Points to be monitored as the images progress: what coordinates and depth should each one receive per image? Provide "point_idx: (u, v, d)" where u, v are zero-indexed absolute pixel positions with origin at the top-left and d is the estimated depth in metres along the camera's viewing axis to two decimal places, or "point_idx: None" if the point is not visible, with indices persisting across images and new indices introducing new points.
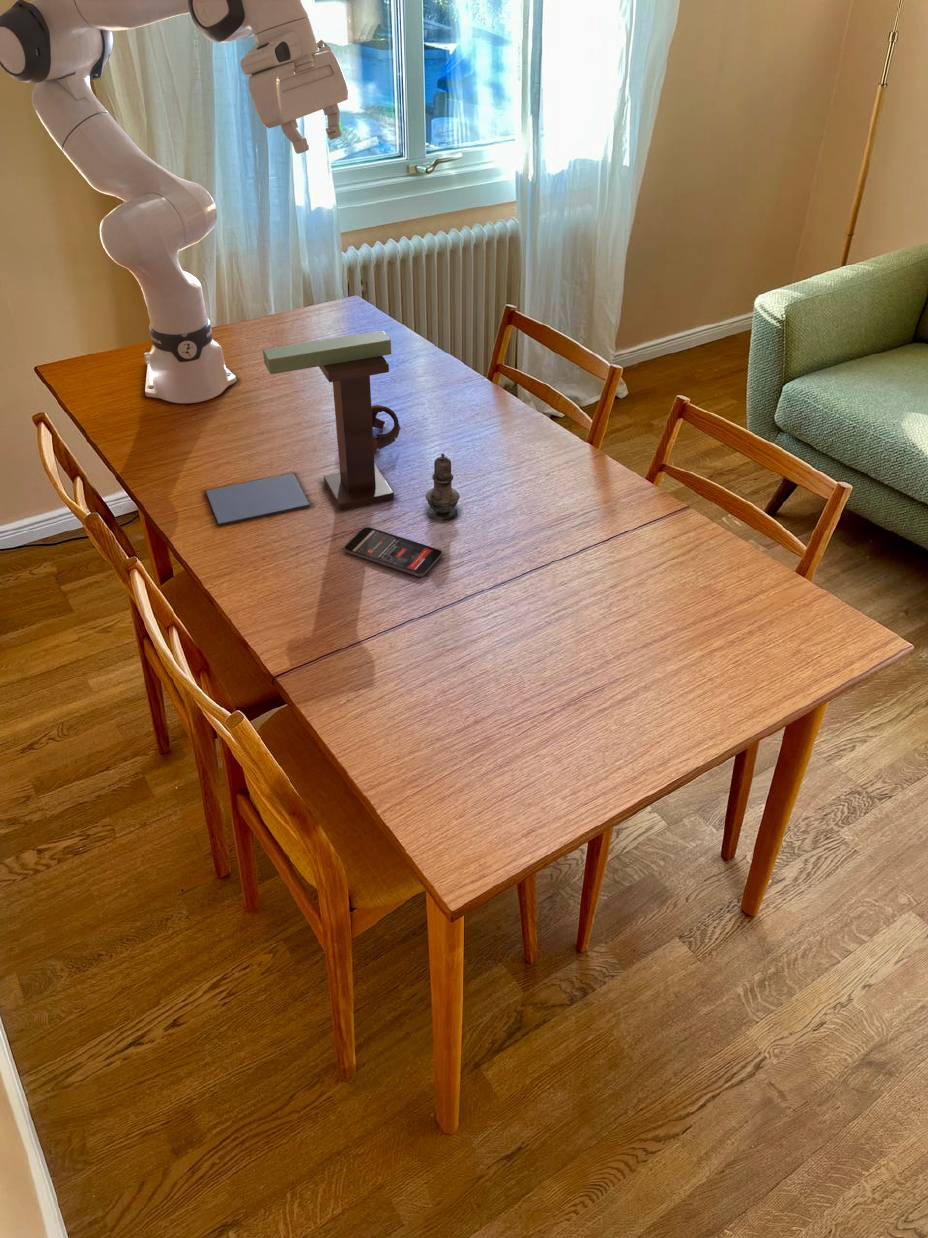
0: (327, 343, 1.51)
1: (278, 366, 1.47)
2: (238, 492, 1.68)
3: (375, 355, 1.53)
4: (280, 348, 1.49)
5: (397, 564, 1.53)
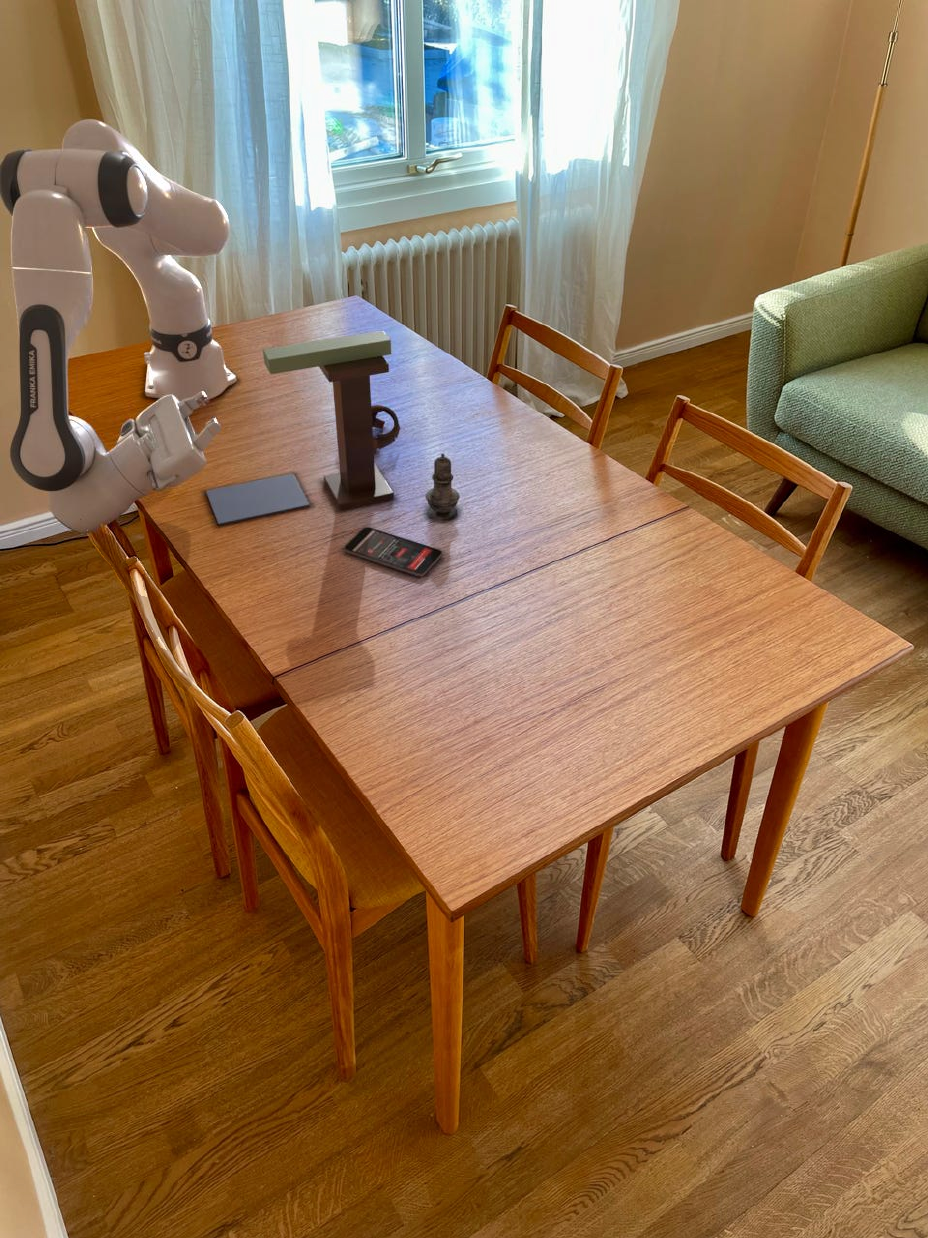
0: (327, 343, 1.51)
1: (278, 366, 1.47)
2: (238, 492, 1.68)
3: (375, 355, 1.53)
4: (280, 348, 1.49)
5: (397, 564, 1.53)
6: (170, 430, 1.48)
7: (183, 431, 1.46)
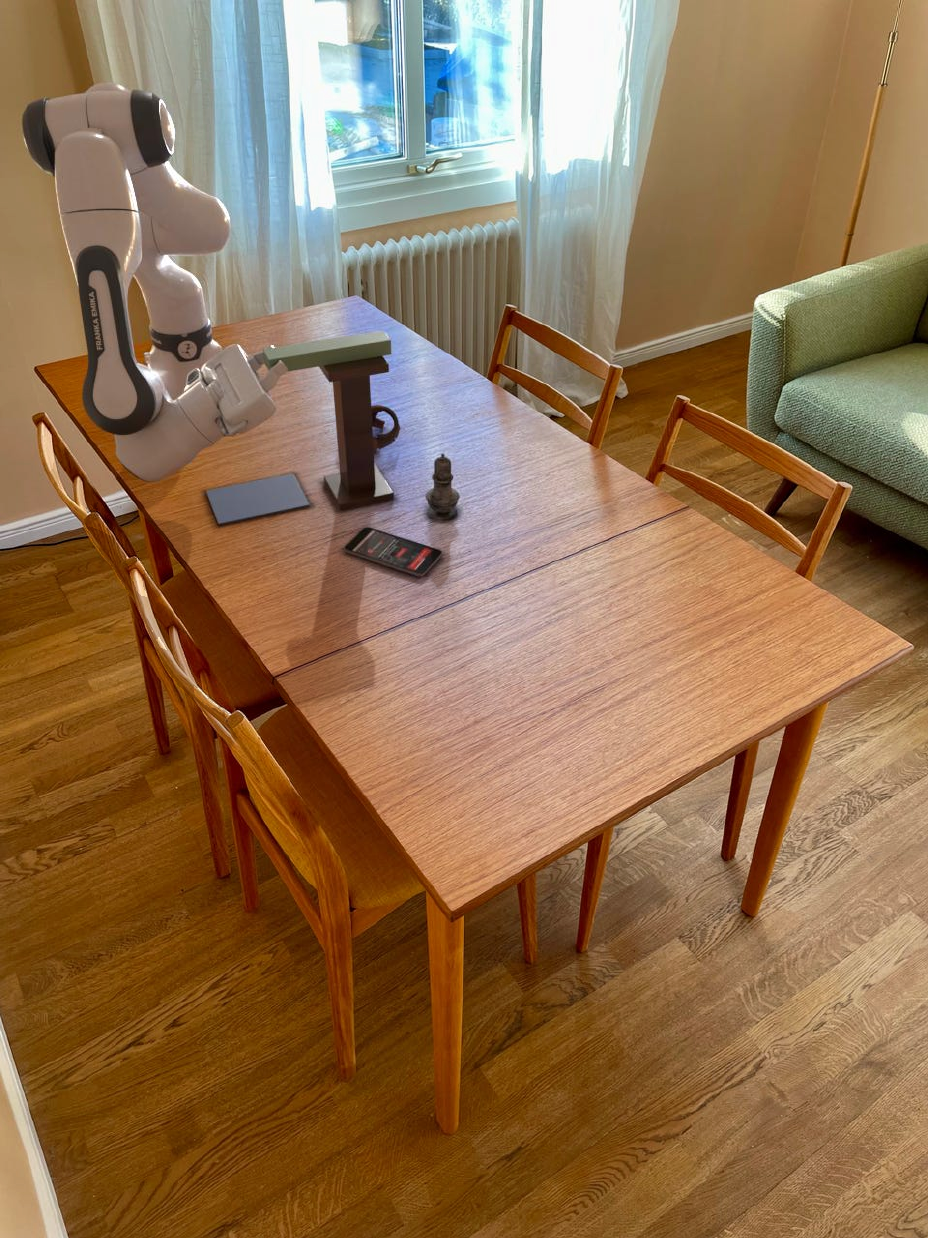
0: (327, 343, 1.50)
1: None
2: (238, 492, 1.68)
3: (375, 355, 1.52)
4: (280, 348, 1.49)
5: (397, 564, 1.53)
6: (238, 378, 1.47)
7: (253, 377, 1.45)
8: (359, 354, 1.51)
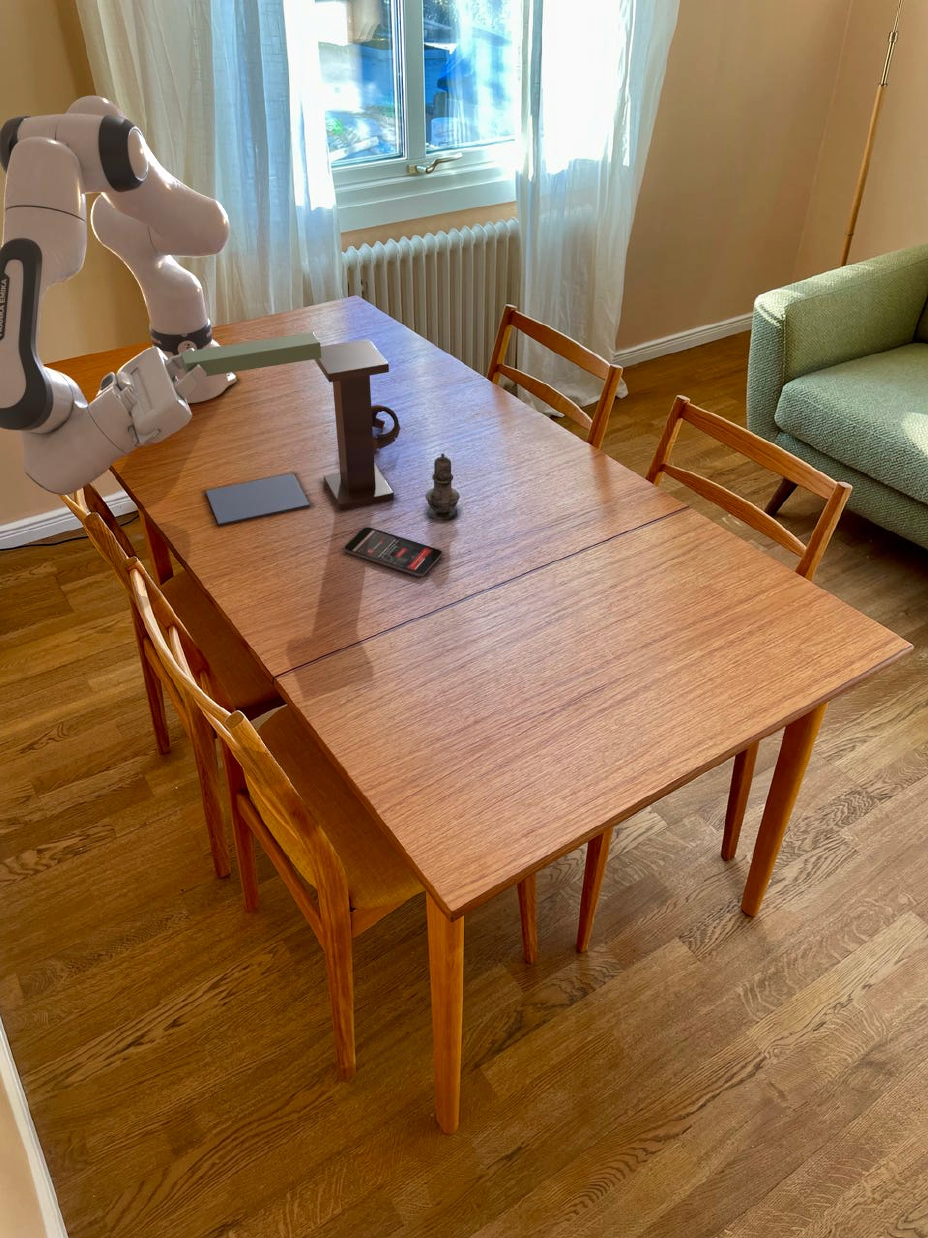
0: (251, 346, 1.40)
1: None
2: (238, 492, 1.68)
3: (304, 359, 1.42)
4: (199, 351, 1.38)
5: (397, 564, 1.53)
6: (153, 383, 1.36)
7: (168, 382, 1.35)
8: (286, 358, 1.41)
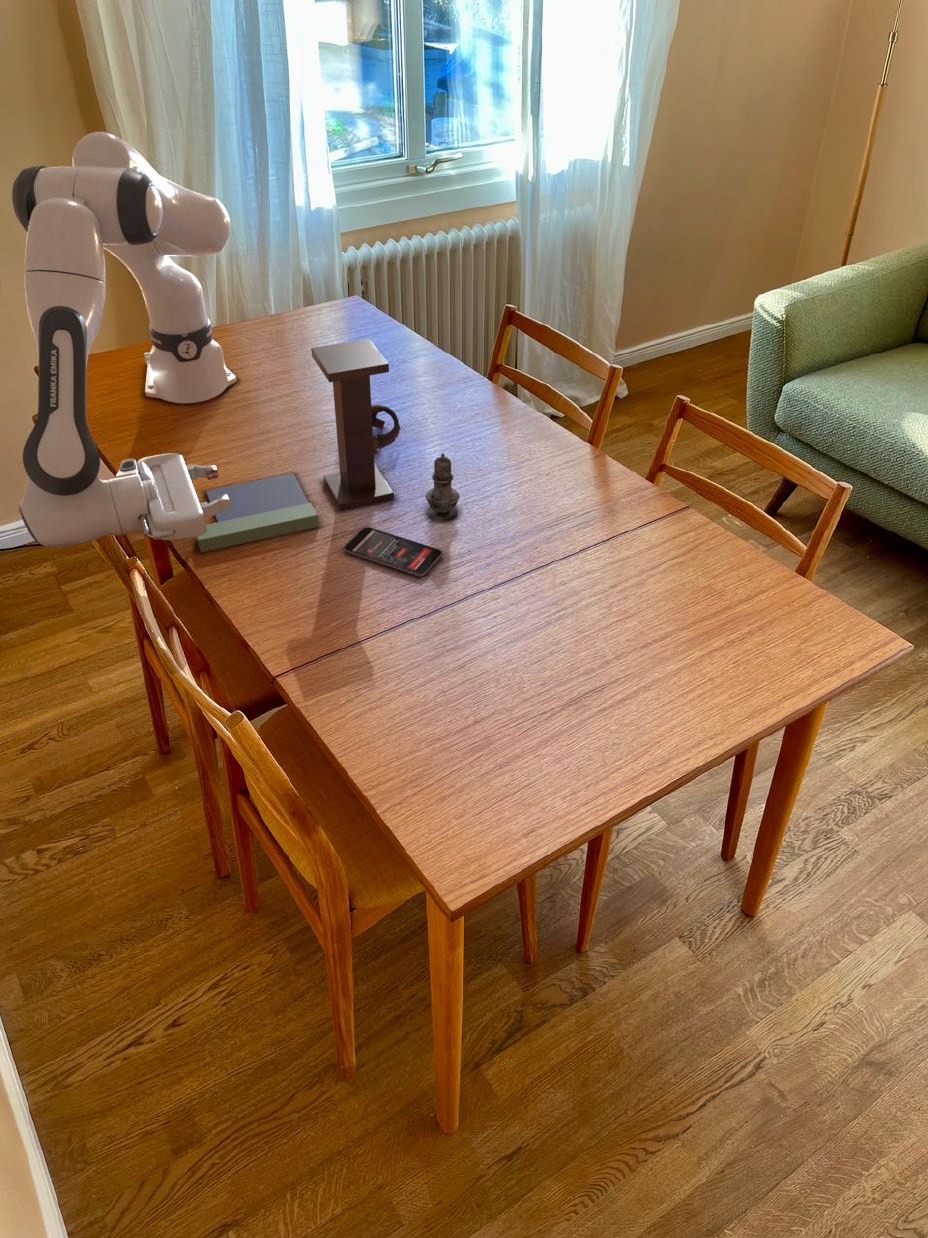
0: (256, 519, 1.58)
1: (208, 545, 1.55)
2: (238, 492, 1.68)
3: (302, 529, 1.60)
4: (210, 526, 1.57)
5: (397, 564, 1.53)
6: (177, 487, 1.48)
7: (193, 493, 1.47)
8: (287, 529, 1.59)
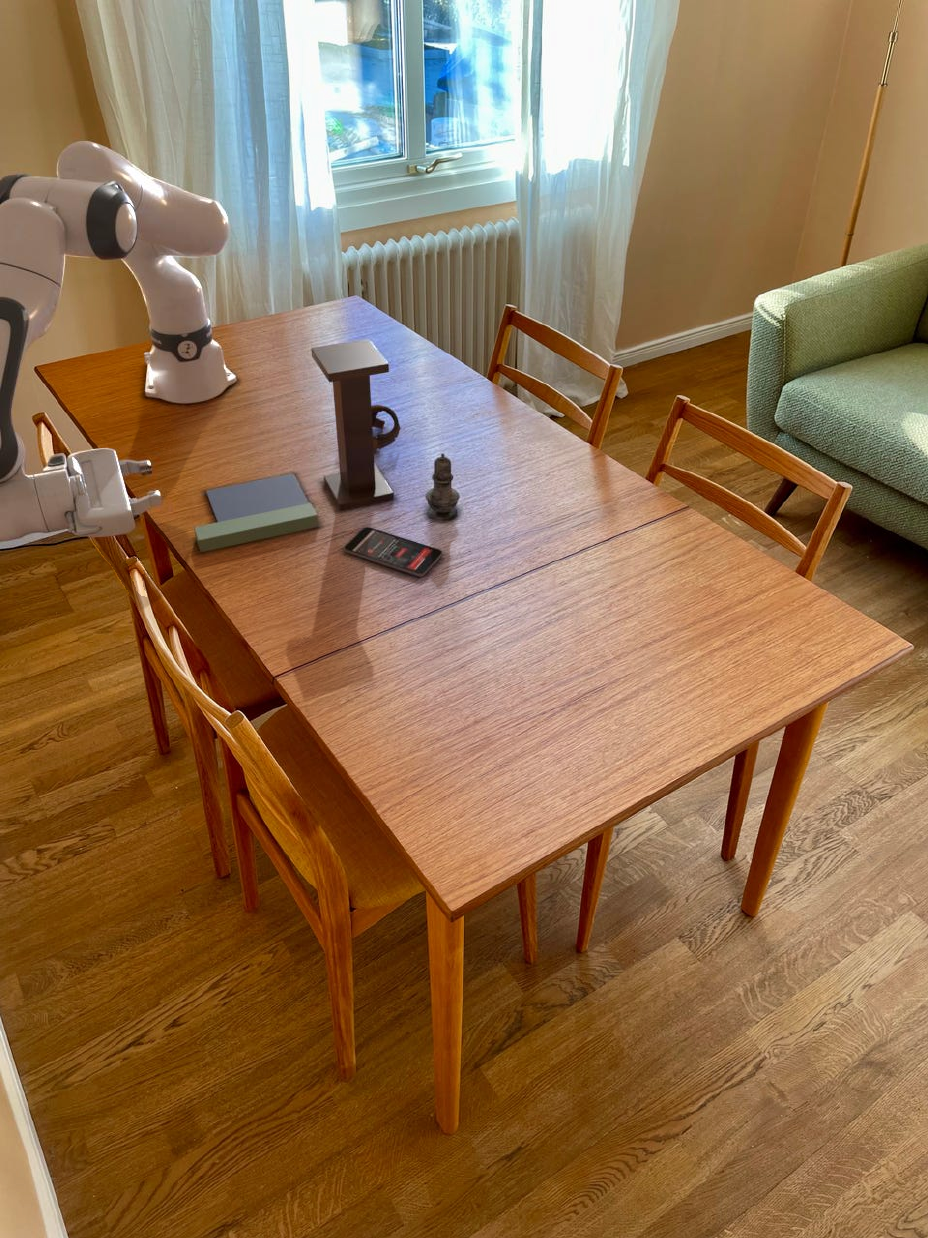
0: (256, 519, 1.58)
1: (208, 545, 1.55)
2: (238, 492, 1.68)
3: (302, 529, 1.60)
4: (210, 526, 1.57)
5: (397, 564, 1.53)
6: (106, 483, 1.43)
7: (123, 489, 1.42)
8: (287, 529, 1.59)
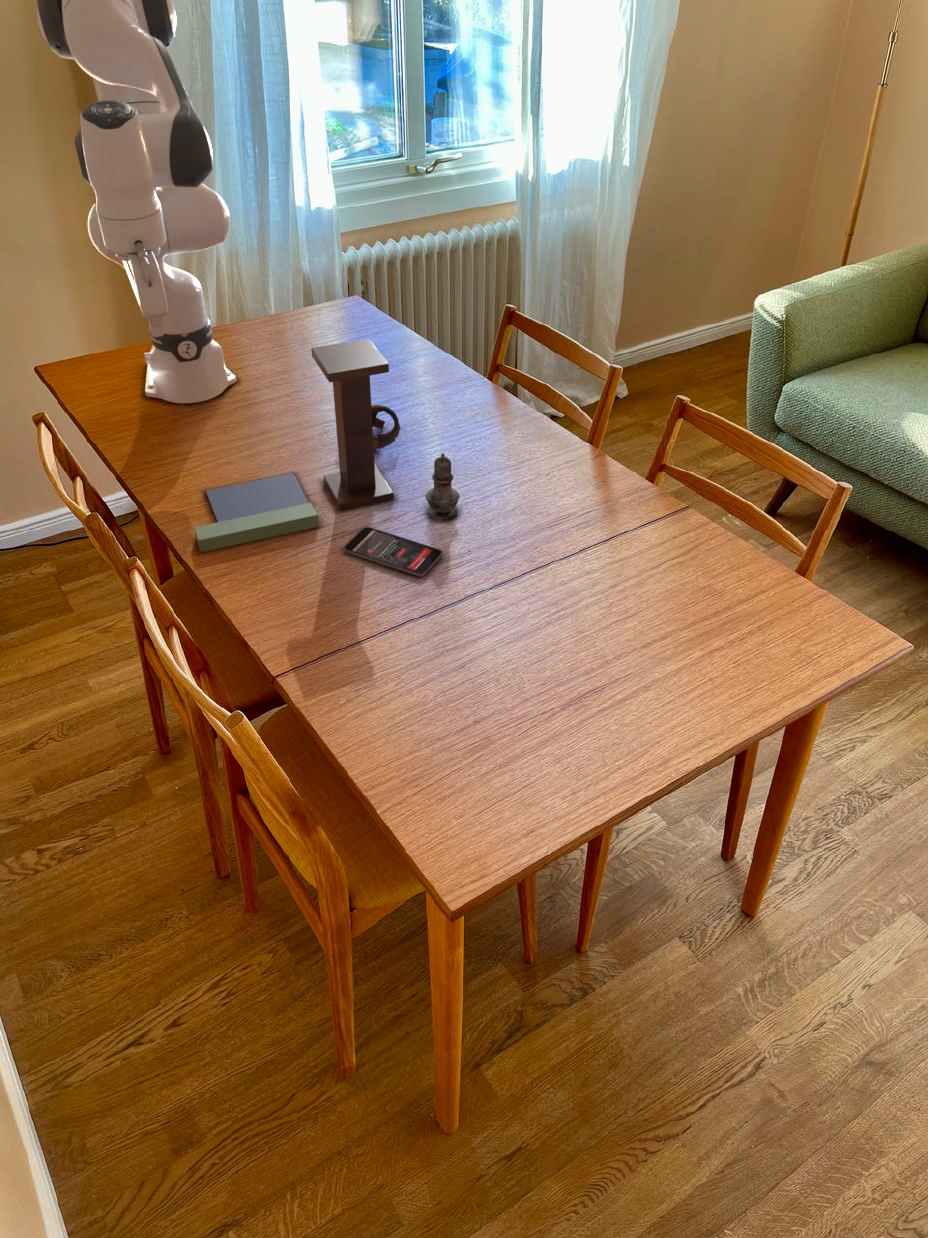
0: (256, 519, 1.58)
1: (208, 545, 1.55)
2: (238, 492, 1.68)
3: (302, 529, 1.60)
4: (210, 526, 1.57)
5: (397, 564, 1.53)
6: None
7: None
8: (287, 529, 1.59)
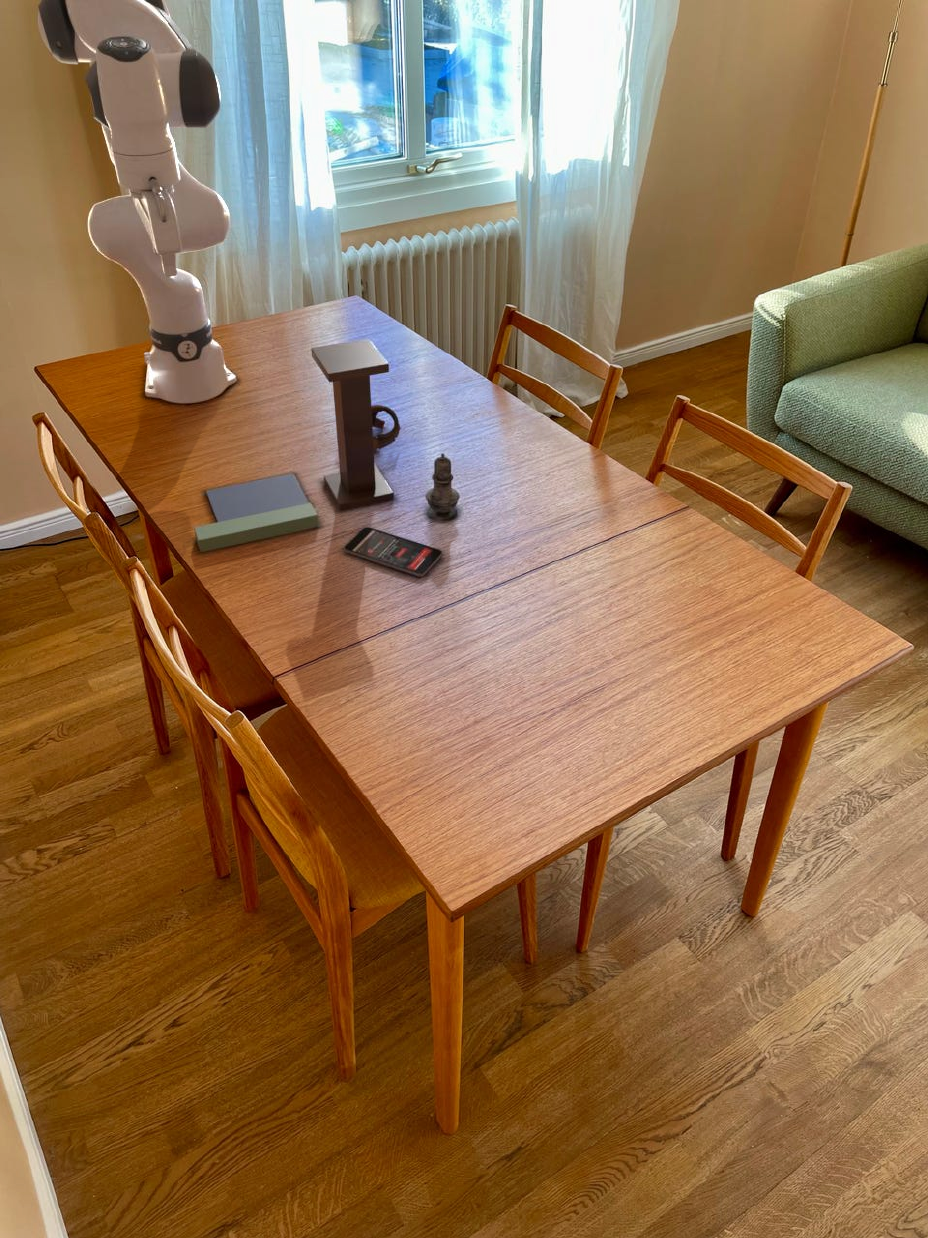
0: (256, 519, 1.58)
1: (208, 545, 1.55)
2: (238, 492, 1.68)
3: (302, 529, 1.60)
4: (210, 526, 1.57)
5: (397, 564, 1.53)
6: None
7: None
8: (287, 529, 1.59)
